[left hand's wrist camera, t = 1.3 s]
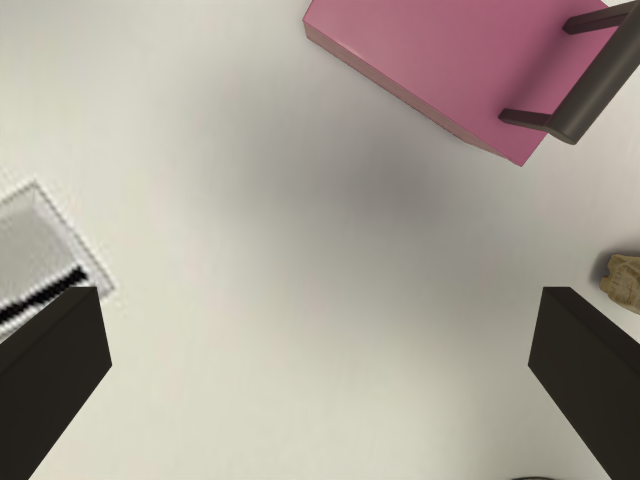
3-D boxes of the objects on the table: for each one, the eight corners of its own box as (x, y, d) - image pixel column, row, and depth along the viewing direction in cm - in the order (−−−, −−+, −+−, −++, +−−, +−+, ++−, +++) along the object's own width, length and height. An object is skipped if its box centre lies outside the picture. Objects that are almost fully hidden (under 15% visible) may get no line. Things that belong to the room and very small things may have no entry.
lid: (620, 26, 25) (763, -1, 17) (515, 164, 28) (595, 197, 20) (394, -152, 22) (437, -286, 14) (302, 22, 25) (294, -7, 17)
